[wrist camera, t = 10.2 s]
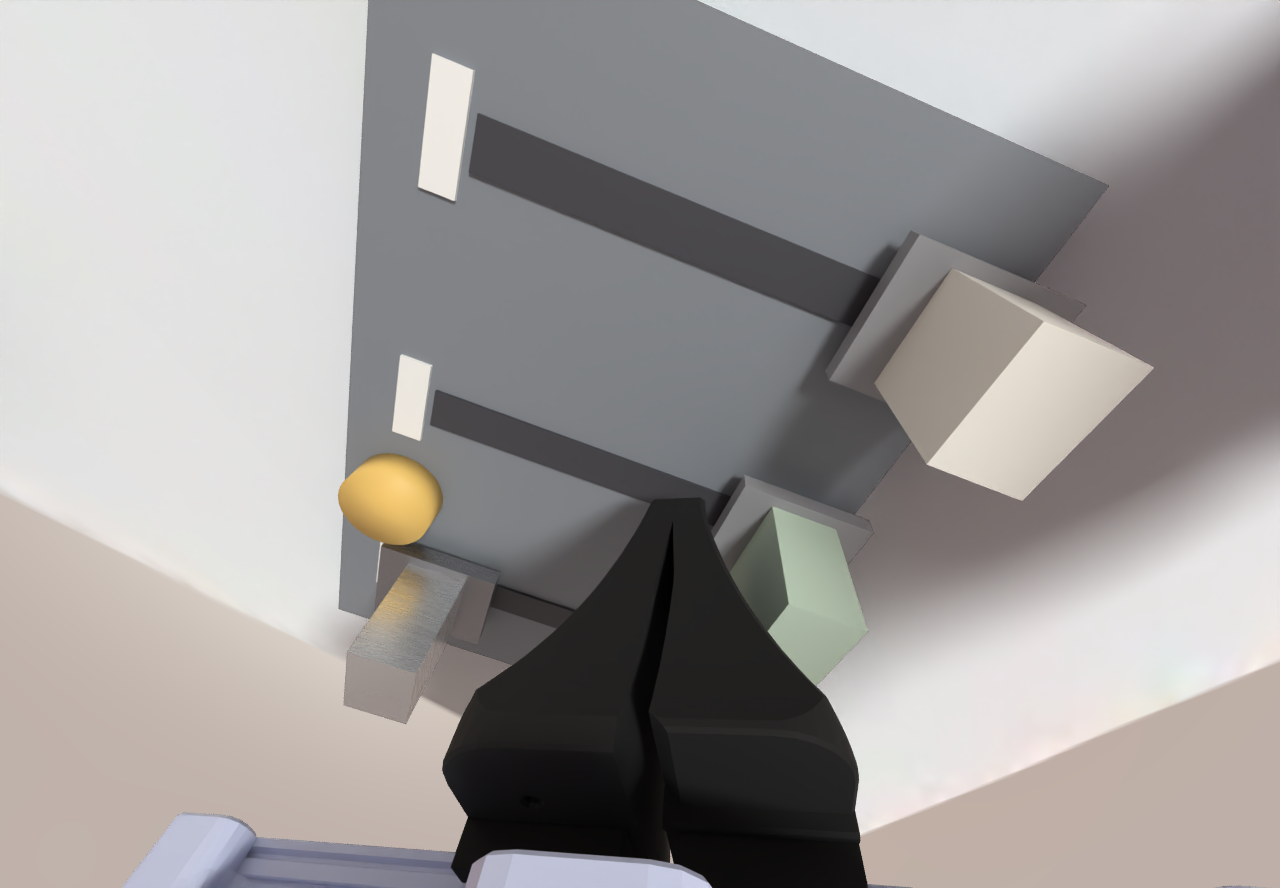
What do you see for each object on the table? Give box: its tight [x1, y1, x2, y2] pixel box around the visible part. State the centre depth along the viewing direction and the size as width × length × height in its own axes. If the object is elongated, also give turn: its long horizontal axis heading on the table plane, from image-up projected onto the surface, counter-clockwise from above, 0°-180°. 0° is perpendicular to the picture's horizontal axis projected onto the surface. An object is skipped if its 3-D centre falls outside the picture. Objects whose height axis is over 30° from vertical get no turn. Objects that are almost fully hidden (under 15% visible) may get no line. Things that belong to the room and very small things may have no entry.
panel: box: [338, 0, 1109, 665], centre depth 14 cm, size 14×20×2 cm
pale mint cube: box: [711, 475, 874, 686], centre depth 13 cm, size 4×3×4 cm
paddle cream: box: [825, 230, 1154, 501], centre depth 9 cm, size 4×3×4 cm
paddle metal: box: [344, 543, 500, 724], centre depth 16 cm, size 4×3×4 cm
